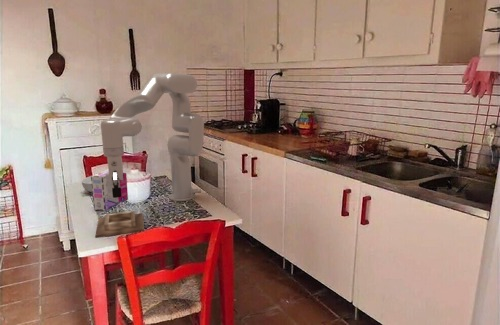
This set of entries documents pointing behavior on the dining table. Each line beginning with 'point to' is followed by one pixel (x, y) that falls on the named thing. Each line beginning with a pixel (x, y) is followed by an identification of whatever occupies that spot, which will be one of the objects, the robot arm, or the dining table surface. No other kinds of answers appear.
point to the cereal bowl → (87, 184)
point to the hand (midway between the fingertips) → (117, 193)
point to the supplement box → (123, 190)
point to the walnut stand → (119, 224)
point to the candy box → (100, 191)
